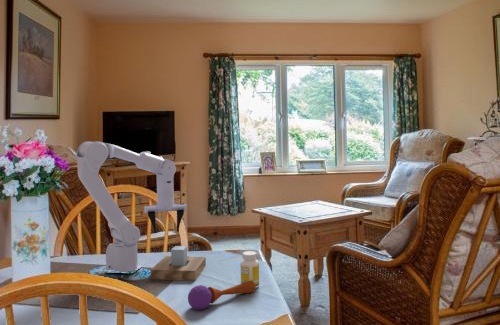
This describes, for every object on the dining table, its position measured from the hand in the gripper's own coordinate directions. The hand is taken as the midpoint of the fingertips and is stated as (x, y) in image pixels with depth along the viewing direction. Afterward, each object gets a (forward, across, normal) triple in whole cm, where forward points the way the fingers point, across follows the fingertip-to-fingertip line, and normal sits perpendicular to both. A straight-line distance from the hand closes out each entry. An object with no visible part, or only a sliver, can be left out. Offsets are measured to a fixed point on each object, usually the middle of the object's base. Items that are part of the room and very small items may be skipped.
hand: (166, 231), depth 139 cm
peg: (+10, +4, -13) cm, 17 cm away
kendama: (+11, +15, -38) cm, 42 cm away
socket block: (+10, +4, -13) cm, 17 cm away
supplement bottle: (+11, +24, -30) cm, 40 cm away
